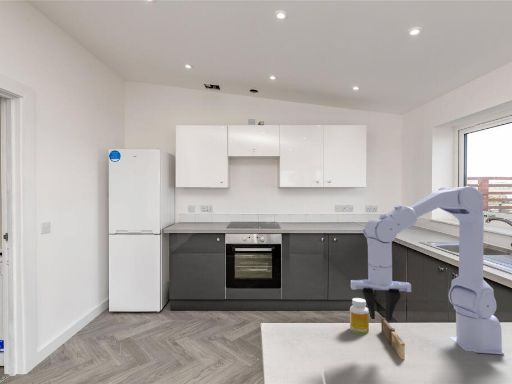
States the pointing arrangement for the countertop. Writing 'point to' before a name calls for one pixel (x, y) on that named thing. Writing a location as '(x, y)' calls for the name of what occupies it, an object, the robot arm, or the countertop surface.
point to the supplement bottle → (359, 316)
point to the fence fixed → (387, 330)
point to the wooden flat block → (398, 345)
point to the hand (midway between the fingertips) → (380, 318)
